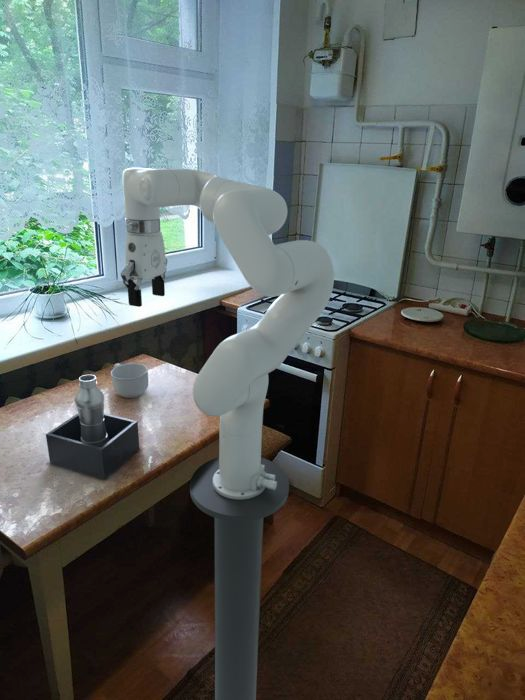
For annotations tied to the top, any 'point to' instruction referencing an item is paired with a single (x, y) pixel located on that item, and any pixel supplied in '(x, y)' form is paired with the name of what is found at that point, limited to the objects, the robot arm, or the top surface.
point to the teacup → (130, 379)
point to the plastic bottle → (91, 412)
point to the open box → (92, 458)
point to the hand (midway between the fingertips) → (147, 300)
